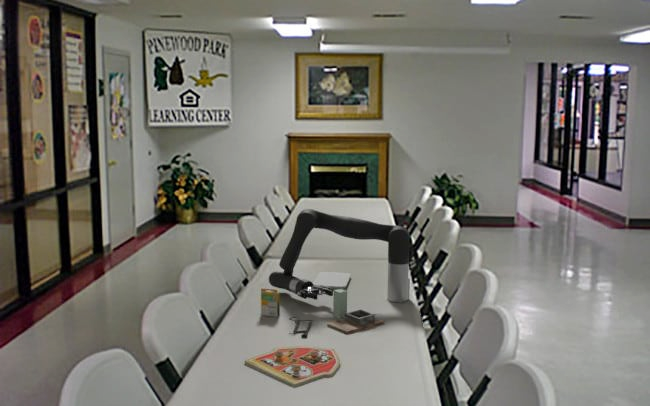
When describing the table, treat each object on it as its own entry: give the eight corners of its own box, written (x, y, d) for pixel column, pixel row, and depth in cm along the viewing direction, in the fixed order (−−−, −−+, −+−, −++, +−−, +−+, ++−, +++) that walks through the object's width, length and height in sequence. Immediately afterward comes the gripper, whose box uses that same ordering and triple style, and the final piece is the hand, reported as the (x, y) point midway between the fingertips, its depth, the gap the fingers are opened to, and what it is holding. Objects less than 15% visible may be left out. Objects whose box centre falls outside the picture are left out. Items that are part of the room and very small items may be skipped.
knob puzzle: (241, 364, 226) (241, 351, 226) (304, 342, 247) (304, 331, 246) (298, 390, 206) (298, 377, 205) (362, 365, 226) (363, 352, 225)
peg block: (340, 314, 279) (340, 288, 277) (346, 316, 276) (347, 290, 274) (333, 316, 276) (333, 290, 275) (339, 318, 273) (339, 292, 272)
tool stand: (364, 316, 276) (364, 306, 276) (384, 323, 267) (384, 313, 267) (327, 325, 264) (327, 316, 263) (347, 334, 255) (347, 324, 254)
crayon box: (279, 314, 277) (279, 288, 275) (277, 317, 274) (277, 289, 272) (263, 313, 279) (263, 286, 277) (260, 315, 276) (260, 288, 274)
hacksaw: (306, 339, 250) (306, 335, 249) (279, 338, 251) (279, 334, 251) (314, 318, 273) (314, 315, 273) (289, 317, 274) (289, 314, 274)
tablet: (351, 277, 339) (351, 273, 339) (345, 291, 314) (345, 286, 313) (320, 276, 341) (320, 271, 341) (311, 289, 316) (311, 285, 316)
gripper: (288, 281, 290) (311, 289, 278) (314, 276, 299) (337, 284, 287) (288, 298, 291) (311, 307, 279) (314, 292, 300) (337, 301, 288)
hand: (324, 295), depth 283 cm, fingers open, 8 cm apart
